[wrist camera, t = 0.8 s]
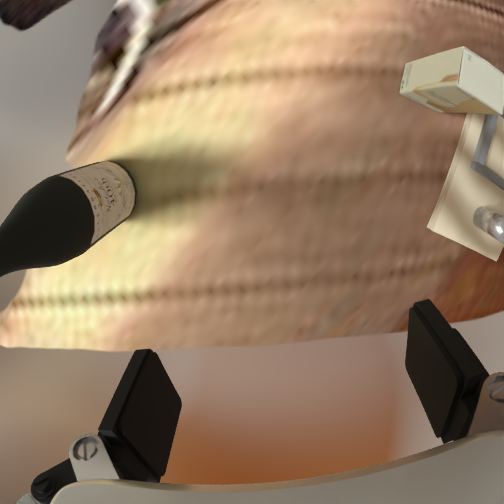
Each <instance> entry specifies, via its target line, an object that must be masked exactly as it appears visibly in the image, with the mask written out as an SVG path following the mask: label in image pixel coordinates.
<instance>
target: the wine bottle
mask: <svg viewBox="0 0 504 504" xmlns="http://www.w3.org/2000/svg"><path fill="white" fill-rule="evenodd" d="M136 192H137V191H136V187H135V183H134V180H133V178H132V177H131V175H130V174H129V172H128V171H127V170H126V169H125V168H124V167H122V166H121V165H120V164H117V163H114V162H111V161H104V162H97V163H93V164H89V165H86V166H82V167H79V168H76V169H73V170H69V171H66V172H63V173H60V174H57V175H54V176H51V177H48V178H47V179H45V180H43V181H42V182H40V183H39V184H37V185H36V186H34V187H33V188H32V189H30V190H29V191H28V192H27V193H25V194H24V195H23V197H22V198H21V199H20V200H19V201H18V202H17V204H16V205H15V206H14V208H13V209H12V211H11V212H10V214H9V215H8V216H7V218H6V219H5V221H4V222H3V223H2V225H1V226H0V277H1V276H3V275H5V274H8V273H11V272H14V271H18V270H23V269H31V268H42V267H51V266H56V265H59V264H62V263H65V262H67V261H69V260H71V259H73V258H75V257H77V256H79V255H81V254H83V253H84V252H86V251H87V250H88V249H89V248H90V247H92V246H93V245H94V244H95V243H97V242H98V241H99V240H100V239H102V238H103V237H104V236H106V235H107V234H108V233H109V232H111V231H112V230H113V229H115V228H116V227H117V226H118V225H120V224H121V223H122V222H123V221H124V220H125V219H126V218H127V217H128V216H129V215H130V214H131V213H132V210H133V208H134V206H135V203H136Z"/></svg>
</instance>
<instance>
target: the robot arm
mask: <svg viewBox="0 0 504 504" xmlns="http://www.w3.org/2000/svg"><path fill="white" fill-rule="evenodd" d="M405 365H406V370H407V372H408V375H409V377H410V379H411V381H412V383H413V385H414V387H415V390H416V392H417V394H418V396H419V398H420V401H421V403H422V405H423V407H424V409H425V412H426V414H427V417H428V419H429V421H430V423H431V426H432V428H433V431H434V433H435V435H436V437H437V438H439V437H441V439H442V441H443V443H444V445H441V446H438V447H435V448H432V449H429V450H426V451H423V452H420V453H417V454H413V455H410V456H407V457H403V458H400V459H397V460H393V461H389V462H386V463H382V464H378V465H374V466H370V467H366V468H361V469H357V470H352V471H348V472H342V473H337V474H331V475H326V476H320V477H314V478H306V479H300V480H291V481H282V482H271V483H258V484H238V485H186V484H169V483H160V479H161V476H163V475H164V474H165V472H166V468H167V464H168V459H169V455H170V451H171V447H172V443H173V439H174V435H175V431H176V427H177V422H178V419H179V414H180V411H181V407H182V403H181V399H180V397H179V395H178V393H177V391H176V390H175V388H174V386H173V384H172V382H171V380H170V378H169V376H168V374H167V373H166V371H165V369H164V367H163V365H162V363H161V361H160V359H159V357H158V355H157V353H156V352H153V351H152V350H151V349H141V350H136V351H135V352H134V354H133V356H132V358H131V360H130V362H129V364H128V366H127V368H126V370H125V372H124V374H123V377H122V379H121V381H120V383H119V385H118V387H117V389H116V391H115V393H114V396H113V398H112V400H111V402H110V404H109V406H108V408H107V411H106V413H105V415H104V418H103V419H102V422H101V424H100V426H99V428H98V430H99V432H98V435H95V434H91V433H90V434H84V435H81V436H80V437H78V438H77V439H76V440H75V441H74V442H73V443H72V445H71V447H70V450H69V456H70V458H69V459H67V460H65V461H63V462H62V463H60V464H58V465H56V466H54V467H53V468H51V469H49V470H47V471H45V472H43V473H41V474H40V475H38V476H37V477H36V478H35V479H34V481H33V483H32V485H31V494H29V493H26V494H25V495H24V496H23V497H22V498H21V499H20V500H19V501H18V502H16V503H15V504H504V372H498V373H494V374H492V375H489V374H488V372H487V371H486V369H485V368H484V366H483V365H482V363H481V362H480V361H479V359H478V358H477V356H476V355H475V353H474V352H473V351H472V349H471V348H470V347H469V345H468V344H467V342H466V341H465V340H464V338H463V337H462V336H461V334H460V333H459V332H458V331H457V330H456V329H454V328H451V326H450V325H449V324H448V322H447V321H446V320H445V318H444V317H443V316H442V314H441V313H440V312H439V310H438V309H437V308H436V307H435V305H434V304H433V303H432V302H431V300H429V299H427V300H423V301H419V302H415V303H414V305H413V307H412V308H410V310H409V324H408V338H407V349H406V359H405ZM452 440H453V442H450V441H452ZM447 442H450V443H447ZM445 443H447V444H445Z"/></svg>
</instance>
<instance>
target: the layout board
mask: <svg viewBox="0 0 504 504" xmlns="http://www.w3.org/2000/svg"><path fill="white" fill-rule="evenodd" d="M481 206H484V207H486V208H488V209H490V210H492V211H494V212H496V213H498V214H500V215H502V216H504V110H503V115H497V114H480V113H467V115H466V118H465V122H464V125H463V129H462V132H461V136H460V139H459V142H458V145H457V148H456V151H455V154H454V157H453V160H452V163H451V166H450V169H449V172H448V175H447V177H446V180H445V183H444V186H443V188H442V191H441V194H440V196H439V199H438V201H437V204H436V206H435V209H434V211H433V214H432V216H431V218H430V221H429V223H428V225H427V227H428V228H429V229H431V230H432V231H434V232H436V233H439V234H441V235H443V236H445V237H447V238H449V239H452V240H454V241H456V242H458V243H460V244H462V245H464V246H466V247H468V248H471V249H473V250H475V251H477V252H479V253H481V254H483V255H485V256H487V257H489V258H491V259H493V260H495V261H497V259H498V257H499V255H500V253H501V251H502V249H503V246H504V244H503V243H501V242H500V241H498V240H497V239H495V238H493V237H492V236H490V235H489V234H487V233H485V232H484V231H482V230H480V229H479V228H477V227H476V226H475V225H474V223H473V215H474V213H475V211H476V209H477V208H479V207H481Z"/></svg>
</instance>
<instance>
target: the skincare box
mask: <svg viewBox="0 0 504 504" xmlns="http://www.w3.org/2000/svg"><path fill="white" fill-rule="evenodd" d="M400 94H402V95H404V96H406V97H408V98H410V99H412V100H414V101H416V102H418V103H420V104H422V105H424V106H426V107H429V108H431V109H433V110H435V111H437V112H441V113H446V112H447V113H448V112H449V113H480V114H497V115H503V110H504V74H503V73H502V72H500V71H499V70H498V69H496V68H495V67H494V66H493V65H491V64H490V63H489V62H487V61H486V60H484V59H483V58H481V57H480V56H478V55H477V54H475V53H474V52H472V51H471V50H469V49H467V48H466V47H464V46H462V47H458V48H455V49H451V50H448V51H444V52H441V53H437V54H434V55H431V56H427V57H424V58H421V59H418V60H415V61H412V62H409V63H406V65H405V69H404V73H403V78H402V82H401V88H400Z"/></svg>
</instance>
